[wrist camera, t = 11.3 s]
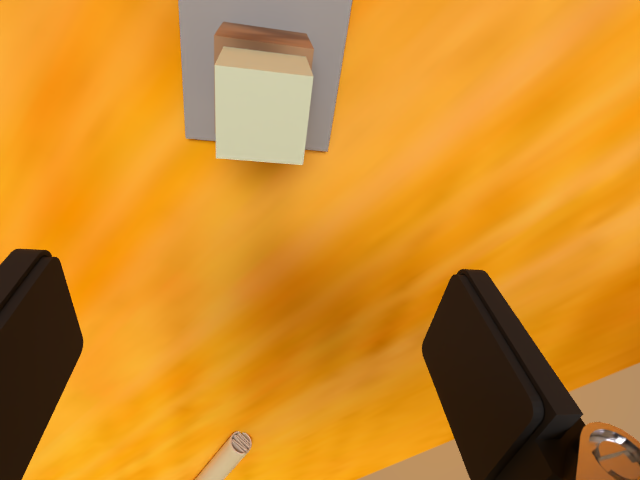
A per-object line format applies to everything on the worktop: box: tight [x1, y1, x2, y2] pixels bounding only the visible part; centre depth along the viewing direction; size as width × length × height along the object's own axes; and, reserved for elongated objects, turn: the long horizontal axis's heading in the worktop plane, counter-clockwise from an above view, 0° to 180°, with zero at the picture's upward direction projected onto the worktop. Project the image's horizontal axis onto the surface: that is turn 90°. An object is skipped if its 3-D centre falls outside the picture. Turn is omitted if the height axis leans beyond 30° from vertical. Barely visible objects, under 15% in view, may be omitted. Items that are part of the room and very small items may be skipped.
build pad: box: [178, 0, 352, 152], centre depth 31 cm, size 12×12×1 cm
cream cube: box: [215, 46, 313, 165], centre depth 24 cm, size 5×5×5 cm
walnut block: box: [214, 22, 314, 133], centre depth 28 cm, size 6×6×6 cm
